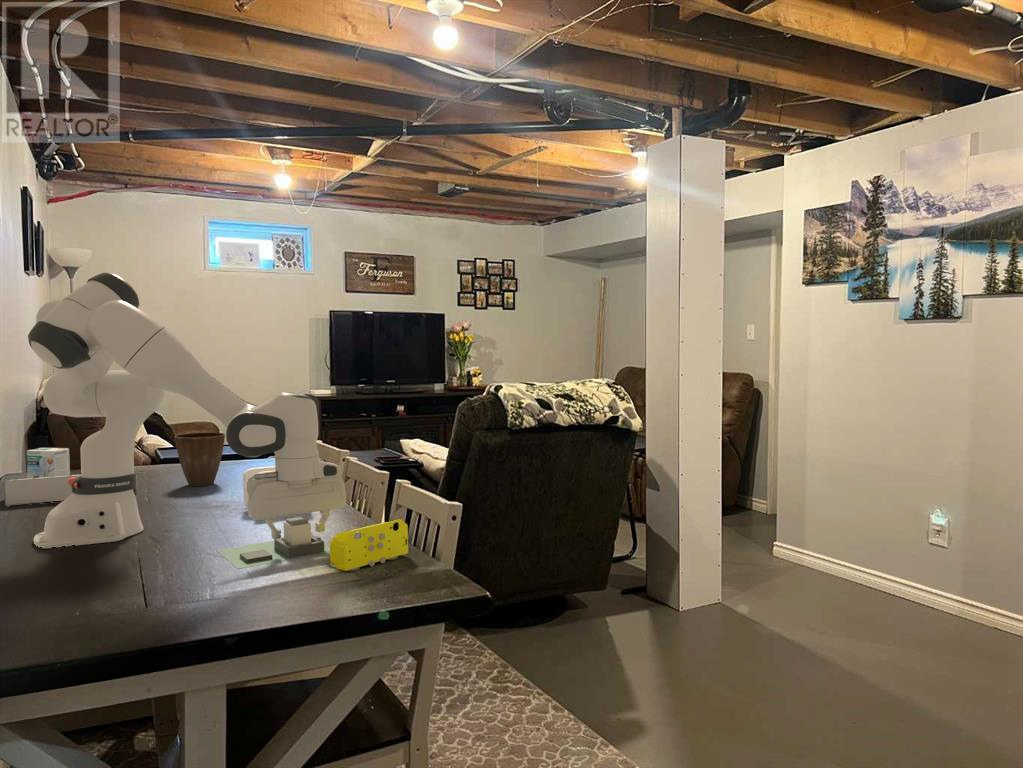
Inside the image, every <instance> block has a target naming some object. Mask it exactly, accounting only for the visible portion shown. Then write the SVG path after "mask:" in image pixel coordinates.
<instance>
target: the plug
mask: <svg viewBox="0 0 1023 768" xmlns="http://www.w3.org/2000/svg"><path fill="white" fill-rule="evenodd" d="M311 524H312V523H310V522H309V520H307V519H305V518H304V517H302V516H298V517H291V518H286V519H285V521H283V537H284V542H286V543H288V544H289V545H291V546H294V545H300V544H306V543H311V535H312V528H311V527H312V525H311Z"/></svg>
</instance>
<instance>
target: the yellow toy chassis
mask: <svg viewBox="0 0 1023 768" xmlns="http://www.w3.org/2000/svg"><path fill="white" fill-rule="evenodd" d="M408 530H409V527H408V524H407V523H405V521H404V520H402V519H396V520H392V521H388V522H387V521H384V522H381V523H380V522H379V523H377V524H372V525H367V526H363V527H360V528H355V529H350V530H346V531H342V532H338V533H337V534H336V535H335V536H334V537H333V538H332V539H331V540H330V541H329V548H330V552H329V554H330V555H329V556H330V559H329V560H330V567H334V568H335V569H338V570H340V571H344V572H347V571H348V572H349V571H350V572H353V571H357V570H360V568H361V567H365V566H368V565H369V566H370V567H374V566H375V563H377V562H378V563H379V562H380V563H381V564H385V562H386V561H391V560H396V559H398V556H399V557H400V556H402V555H406V554H408V553H409V531H408Z"/></svg>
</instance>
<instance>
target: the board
mask: <svg viewBox="0 0 1023 768" xmlns="http://www.w3.org/2000/svg"><path fill="white" fill-rule="evenodd" d="M215 551H216V552H217V553H218V554H219V555H220V556H222V557H224V559H225V560H227V561H228V562H229V563H230V564H231V565H233V566H234V567H235V568H236V569H237V570H240V569H245V568H251V567H252V568H253V567H256V566H263V565H268V564H273V563H279V562H283V561H289V560H295V559H301V558H307V557H311V556H317V555H323V554H328V553H329V554H330V546H327V544H325V541H324V540H322V537H320V536H318V535H316V536H314V535H313V534H311V543H306V544H300V545H294V546H291V545H289V544H288V543H286V542H284V536H283V537H281V538H278V539H273V540H272V541H271V540H270V541H264V542H259V543H257V542H256V543H253V544H247V545H246V544H245V545H239V546H234V547H227V548H221V549H216V550H215Z"/></svg>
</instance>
